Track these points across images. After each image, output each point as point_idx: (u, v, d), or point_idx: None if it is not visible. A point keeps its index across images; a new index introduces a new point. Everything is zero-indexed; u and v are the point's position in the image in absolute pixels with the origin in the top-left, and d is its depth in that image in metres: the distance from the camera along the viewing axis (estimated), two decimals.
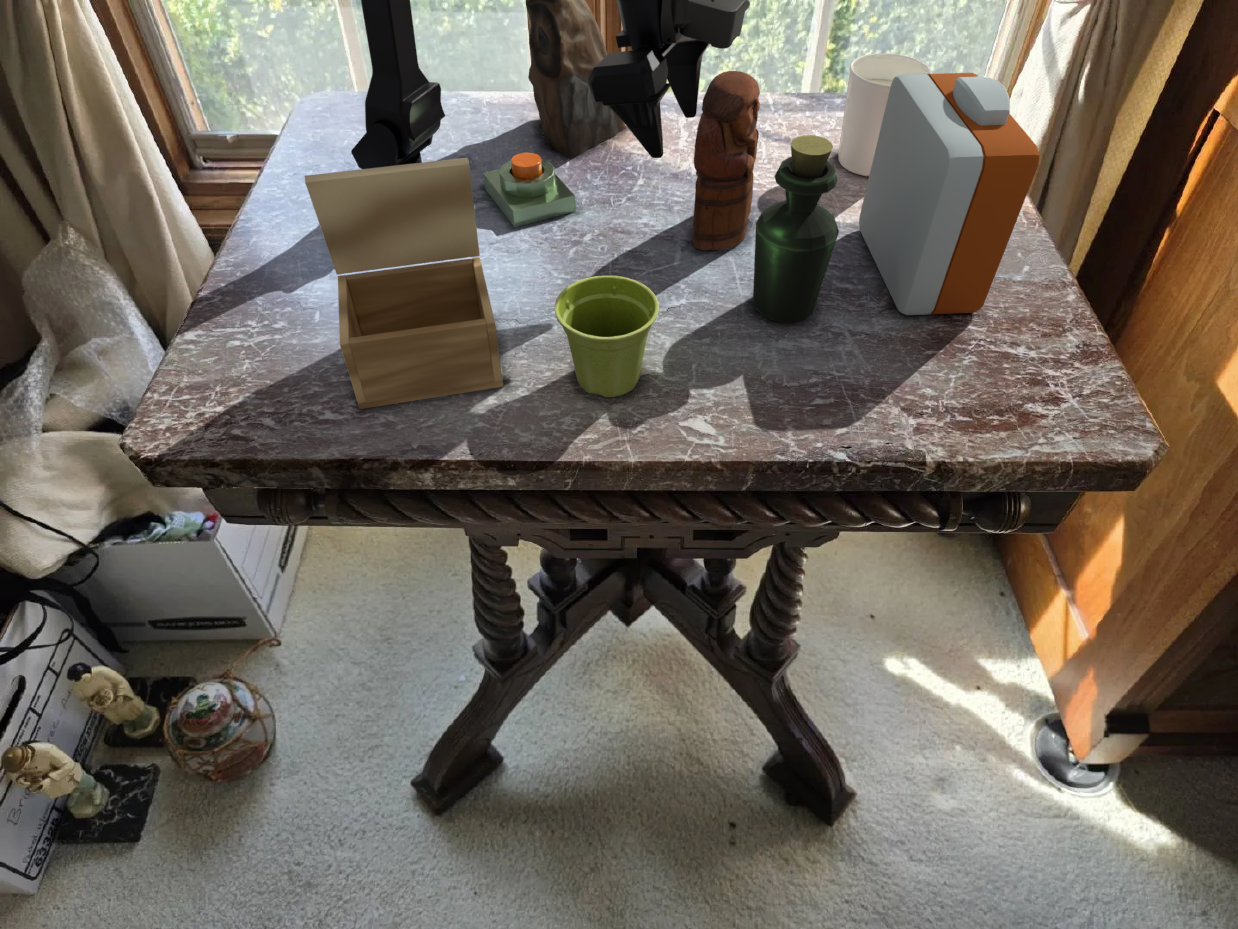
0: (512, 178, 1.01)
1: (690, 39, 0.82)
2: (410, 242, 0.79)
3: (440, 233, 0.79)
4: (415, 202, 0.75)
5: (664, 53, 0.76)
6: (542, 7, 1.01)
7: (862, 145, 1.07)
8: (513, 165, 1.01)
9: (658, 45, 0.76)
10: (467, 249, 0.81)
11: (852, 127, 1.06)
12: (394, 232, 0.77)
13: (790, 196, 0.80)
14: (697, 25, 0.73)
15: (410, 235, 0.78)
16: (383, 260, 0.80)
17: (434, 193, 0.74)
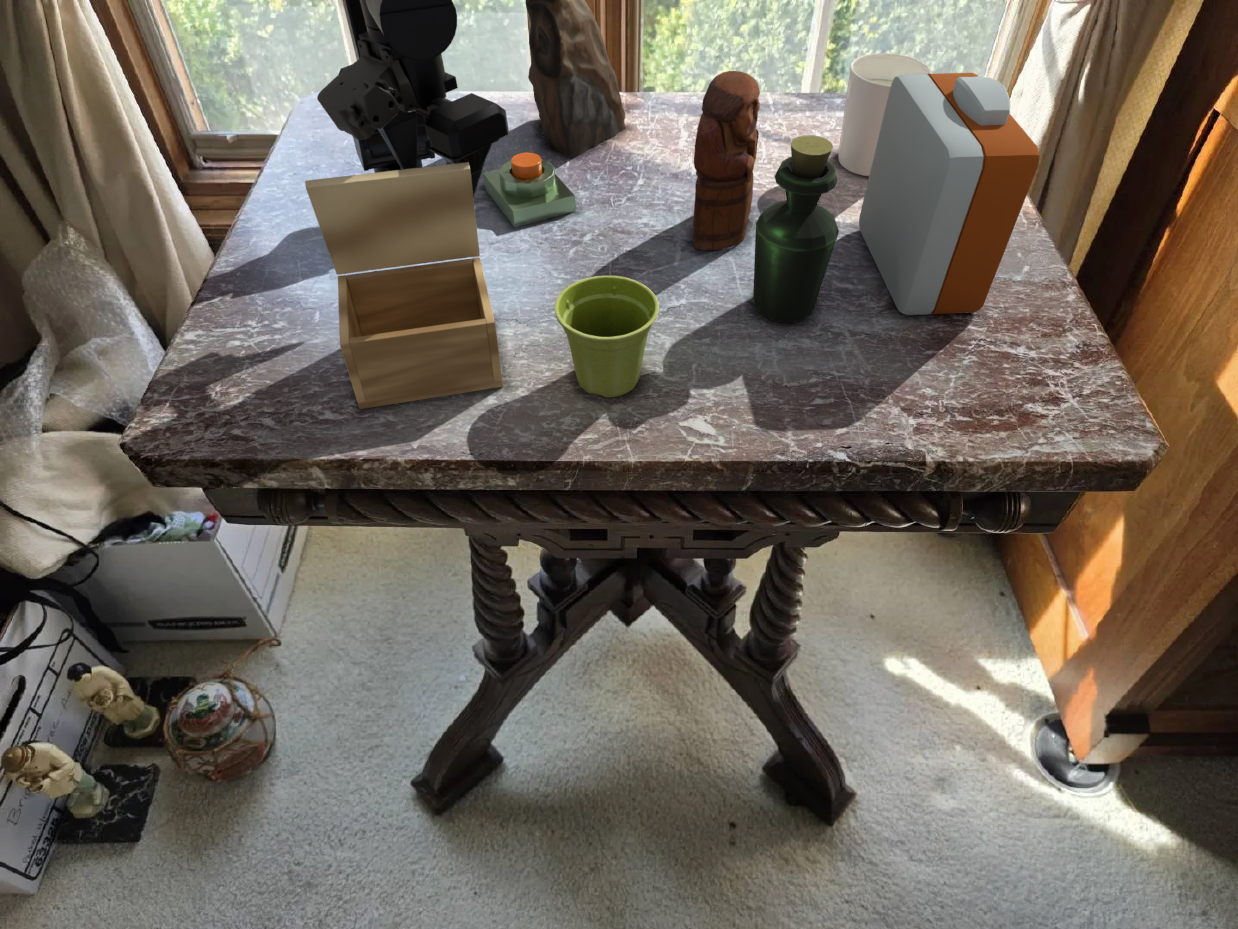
0: (512, 178, 1.01)
1: None
2: (410, 244, 0.79)
3: (440, 235, 0.79)
4: (416, 206, 0.75)
5: None
6: (542, 7, 1.01)
7: (862, 145, 1.07)
8: (513, 165, 1.01)
9: None
10: (467, 250, 0.81)
11: (852, 127, 1.06)
12: (394, 234, 0.77)
13: (790, 196, 0.80)
14: None
15: (410, 237, 0.78)
16: (383, 261, 0.80)
17: (435, 197, 0.74)
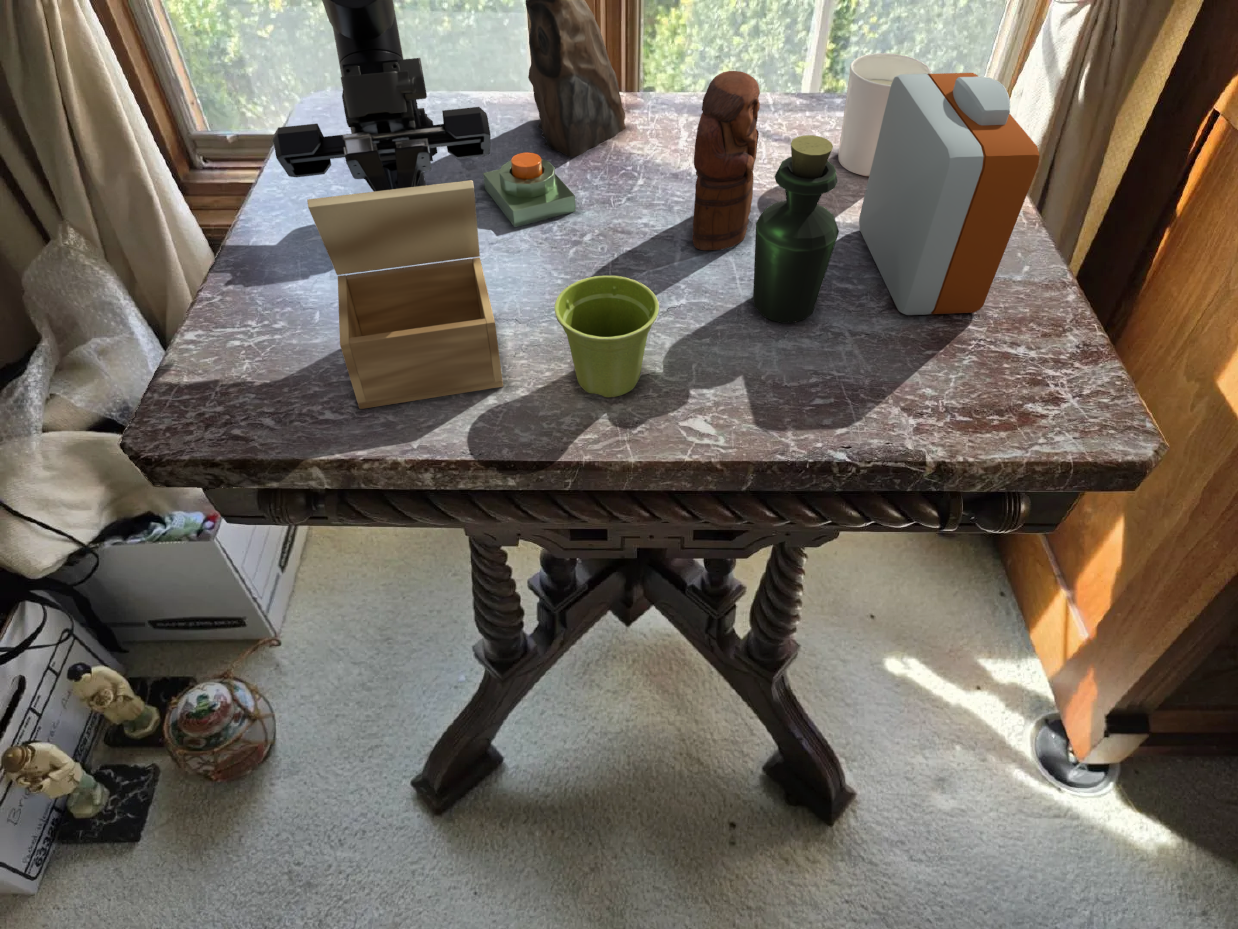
0: (512, 178, 1.01)
1: None
2: (411, 249, 0.79)
3: (441, 241, 0.79)
4: (418, 218, 0.74)
5: (403, 132, 0.76)
6: (542, 7, 1.01)
7: (862, 145, 1.07)
8: (513, 165, 1.01)
9: (354, 131, 0.76)
10: (467, 252, 0.81)
11: (852, 127, 1.06)
12: (396, 242, 0.77)
13: (790, 197, 0.80)
14: None
15: (412, 243, 0.78)
16: (383, 263, 0.80)
17: (437, 211, 0.74)
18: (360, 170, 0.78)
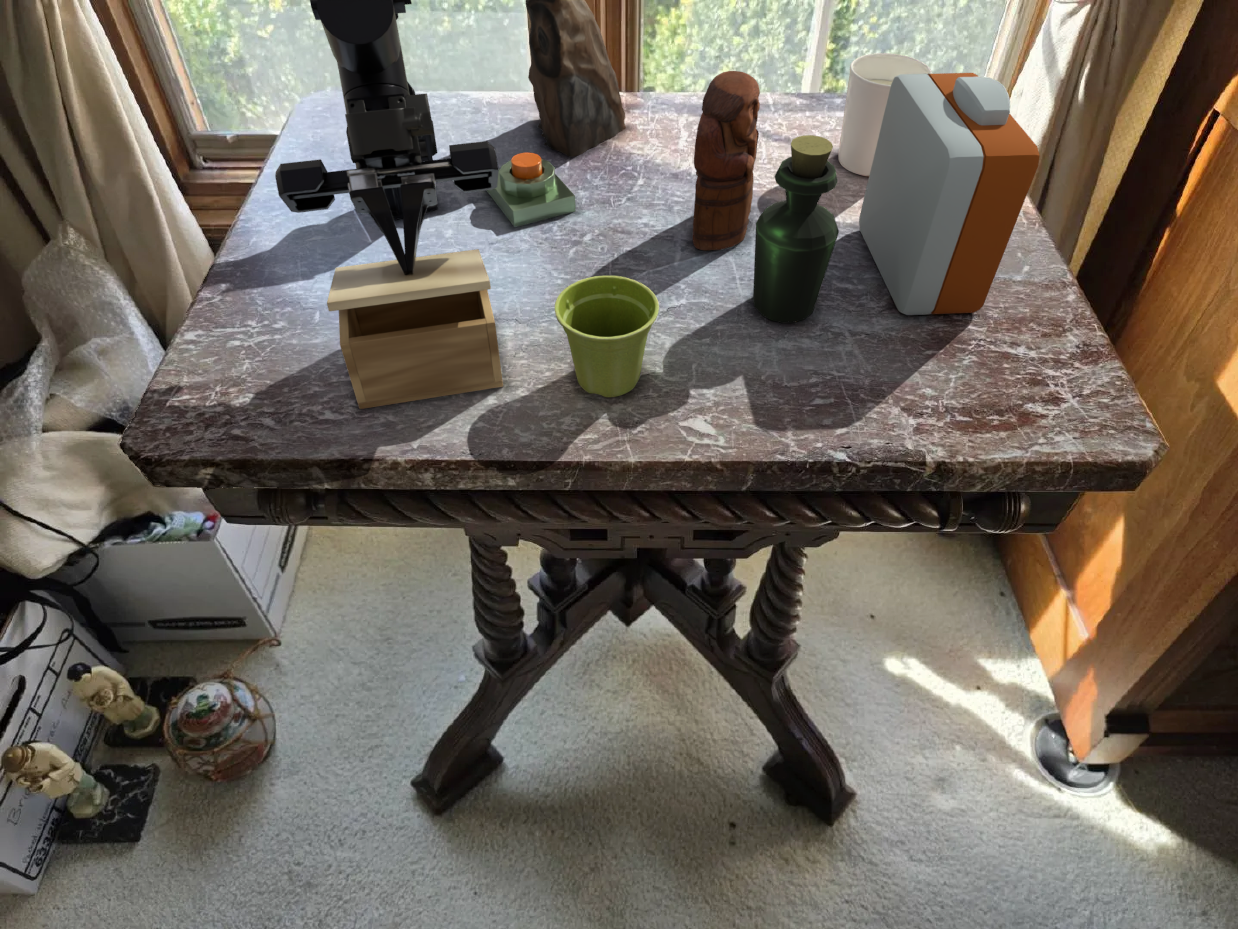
0: (512, 178, 1.01)
1: None
2: None
3: None
4: None
5: (409, 167, 0.74)
6: (542, 7, 1.01)
7: (862, 145, 1.07)
8: (513, 165, 1.01)
9: (358, 167, 0.74)
10: None
11: (852, 127, 1.06)
12: None
13: (790, 196, 0.80)
14: None
15: None
16: None
17: None
18: (365, 206, 0.75)
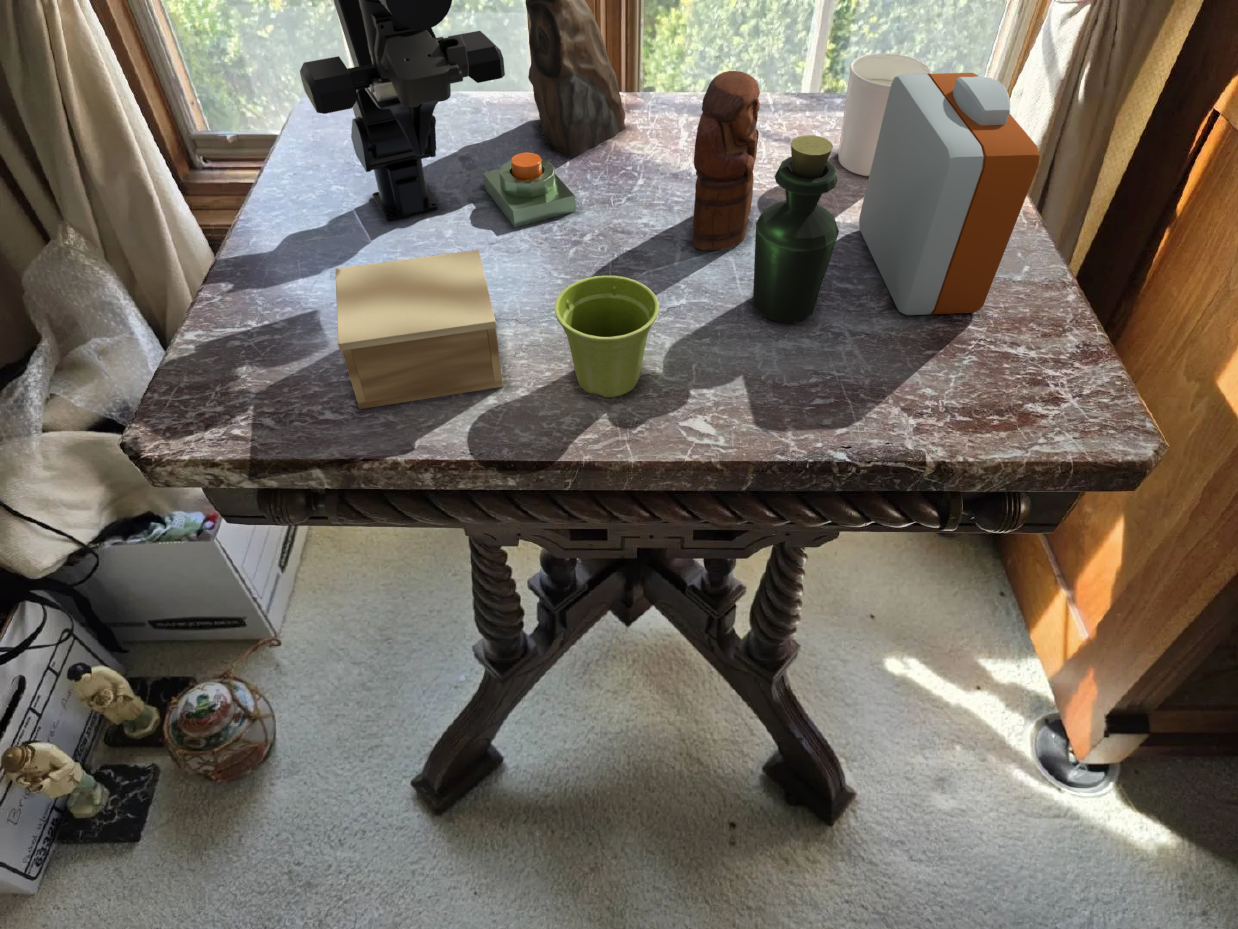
0: (512, 178, 1.01)
1: None
2: None
3: None
4: None
5: None
6: (542, 7, 1.01)
7: (862, 145, 1.07)
8: (513, 165, 1.01)
9: None
10: None
11: (852, 127, 1.06)
12: None
13: (790, 197, 0.80)
14: (391, 73, 0.77)
15: None
16: None
17: None
18: None
